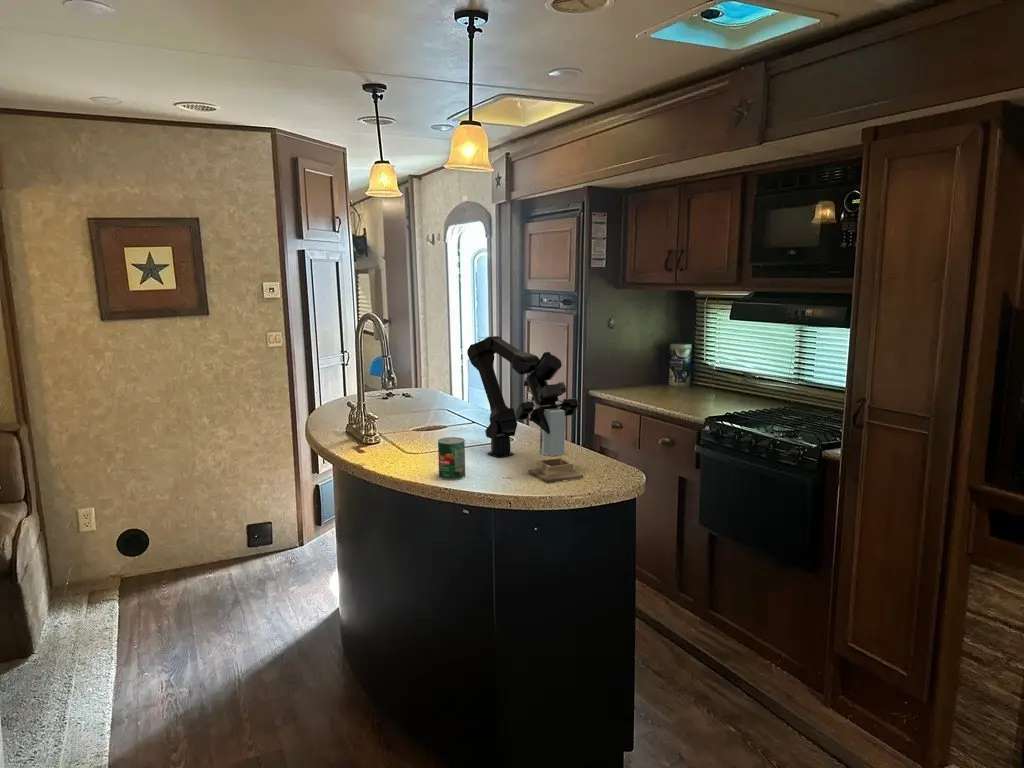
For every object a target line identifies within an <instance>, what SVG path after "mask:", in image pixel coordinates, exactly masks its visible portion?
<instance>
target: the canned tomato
mask: <svg viewBox="0 0 1024 768" xmlns="http://www.w3.org/2000/svg"><path fill="white" fill-rule="evenodd" d="M465 441H466V440H465V438H461V437H454V436H450V437H443V438H439V439H438V440H437V448H438V450H437V451H438V452H437V453H438V457H437V458H438V478H439V477H440V478H439V479H441V478H442V479H441V480H444V479H446V480H445V481H457V480H456V479H458V480H462V479H464V478H465V477H466V451H465V450H466V447H465V444H466V443H465ZM463 477H464V478H463ZM461 478H462V479H461ZM447 479H448V480H447Z"/></svg>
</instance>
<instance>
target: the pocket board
mask: <svg viewBox="0 0 1024 768" xmlns="http://www.w3.org/2000/svg"><path fill="white" fill-rule="evenodd" d="M527 471H528V472H527V473H528V474H529V473H530V474H529V475H531V476H532V477H534V476H535V478H536V477H537V478H536V479H538V478H539V479H538V480H540V479H541V480H542V482H543V481H544V483H545V482H546V483H545V484H550V483H549V482H553V483H557V482H556V481H561V482H564V481H563V480H568V481H571V480H570V479H576V480H581V479H580V478H584V475H583V474H582V473H580V472H577V471H576V470H574V464H573V463H571V462H569V461H567V460H565V459H563V458H561V457H560V458H559V457H557V458H550V459H543V460H537V468H532V469H528V470H527ZM541 480H540V481H541Z"/></svg>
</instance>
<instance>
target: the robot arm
mask: <svg viewBox="0 0 1024 768" xmlns="http://www.w3.org/2000/svg"><path fill="white" fill-rule="evenodd" d="M466 352H467V353H466V354H467V357H468V359H469V361H470V363H471V365H472V366H473V367H474V368H475V369H476V370H477V371H478V373H479V376H480V379H481V383H482V385H483V388H484V391H485V394H486V397H487V401H488V404H489V407H490V415H489V423H490V424H489V425H488V426H487V428H486V429H485V431H484V432H485V433H484V434H485V436H486V437H487V438H488V439H490V451H487V455H489V456H493V457H496V458H503V457H504V458H505V457H509V456H512V455H514V454H515V453H514V452H511V437H515V434H516V431H517V427H518V421H519V420H520V421H523V420H528V421H529V422H533V423H534V424H535V425H536V426H538V427H539V428H540V427H541V428H542V429H543V430H544V431H545V432H546V433H547V434H549V433H550V429H549V426H548V424H547V421H546V419H545V416H544V409H555V408H558V409H561V410H564V411H565V417H567V416H573V415H574V413H575V412H576V410H577V409H578V407H579V405H580V403H579V401H578V399H577V398H575V397H573V398H572V397H571V398H569V397H568V398H564V399H562V400H563V401H561V403H556V402H558V400H559V397H560V396H562V395H563V394H565V393H566V392H567V387H566V384H565V382H564V381H559V382H557V383H556V384H555V383H554V384H549V383H548V381H551V380H552V379H553V377H555V375H557V373H558V372H559V370H560V369H561V368H562V361H561V359H560V358H558V357H557V356H556V355H554V354H552V353H551V352H550V351H545V352H543V353H542V355H541V357H540V358H539V356H537V355H536V354H534V353H530V352H525V351H521V350H519V349H518V348H516V347H515V346H514V345H512V344H510V343H508V342H507V341H505V340H504V339H503V338H502V337H501V336H499V335H492V336H487V337H485V338H484V339H482V340H480V341H478V342H475V343H474V344H473V343H472V344H470V345H469V347H468V348H467V351H466ZM495 354H498V356H501V358H503V359H505V360H506V361H508V362H509V363H510V364H511V368H512V369H513V370H514V371H515V372H516V373H517V374H518V375H520V376H521V375H527V377H526V378H525V381H523V386H524V387H529V390H530V392H531V393H530V394H531V395H532V396H531V397H530V399H531V401H521V402H520V404H519V405H518V407H517V409H516V411H515V409H514V408H513V407H509V406H507V405H506V402H505V400H504V396H503V393H502V390H501V387H500V384H499V380H498V378H497V375H496V372H495V369H494V367H493V366H494V361H495Z"/></svg>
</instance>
